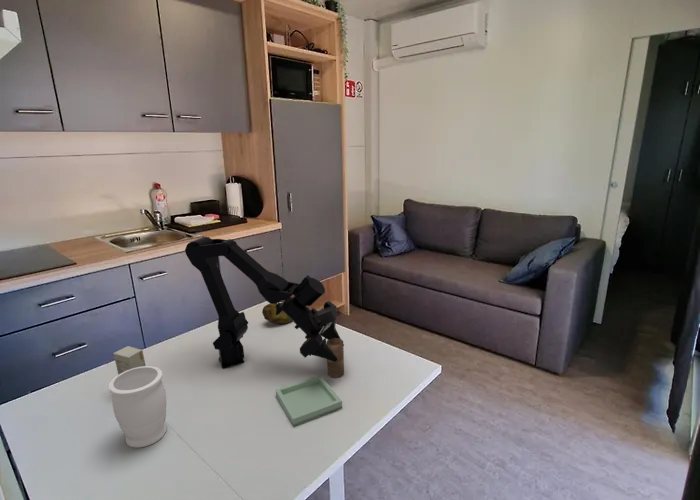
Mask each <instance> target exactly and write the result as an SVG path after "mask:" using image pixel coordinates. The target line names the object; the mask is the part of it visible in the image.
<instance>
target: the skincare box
mask: <svg viewBox="0 0 700 500" xmlns="http://www.w3.org/2000/svg"><path fill="white" fill-rule="evenodd" d="M113 357H114V362H115V366H116V371H117V375H119V374H121V373H123V372H125V371H127V370H130V369H133V368H136V367H142V366H147V365H146V362H145V356H144V350H143V349H140V348H137V347H134V346H130V345H127V346H125V347H123V348H121V349H119V350H117V351H115V352H113Z"/></svg>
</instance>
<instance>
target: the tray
mask: <svg viewBox="0 0 700 500" xmlns="http://www.w3.org/2000/svg"><path fill="white" fill-rule="evenodd" d="M275 397H276V399H277V401H278V402H279V404H280V406H281V407H282V409H283V411H284V413H285V414H286V417H287V418H288V420H289V421H290V423H291V425H292V426H293V427H296V426H298V425H301V424H304V423H306V422H310V421H312V420H315V419H317V418H320V417H323V416H326V415H328V414H331V413H334V412H336V411H338V410H341V409H343V400H342V399H341V398H340V397H339V395H337V393H336V392H335V391H334V390H333V388H332V387H331V386H330V385H329V384H328V382H327V381H326V380H325V379H324V377H323V376H322V375H321V374H320V375H317V376H313V377H310V378H307V379H304V380H301V381H298V382H294V383H292V384H288V385H286V386H282V387H279V388H276V389H275Z"/></svg>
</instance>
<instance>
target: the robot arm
mask: <svg viewBox="0 0 700 500" xmlns="http://www.w3.org/2000/svg"><path fill="white" fill-rule="evenodd" d="M184 252H185V255H186V257H187V258H188V261H189V262H190V264H191V265H192V266H193V267H195V268H196V269H197V270H198V271H199V272H200V274H201V277H202V278H203V281H204V284H205V286H206V289H207V291H208V293H209V296H210V298H211V302H212V303H213V306H214V308H215V310H216V313H217V317H218V320H217V329H218V334H219V336H218V337H217V338H216V339H215V340H214V341H213V342H212V346H213V347H214V350H217V351H218V353H219V354H218V355H219V357H218V361H219V363H220V365H221V368H222V369H228V368H231V367H234V366H238V365H241V364H244V363H245V360H244V359H245V352H244V351H245V350H244V345H243V343H242V342H241V339H243V338H244V335H245V334H246V333H247V331H248V329H249V326H248V324H249V321H248V320H247V318H246V315H245V312H244V311H241V312H239V311H238V310H236V308H235V307H234V304H233V302H232V299H231V297H230V294H229V292H228V289H227V286H226V283H225V281H224V279H223V276H222V274H221V271H220V270H219V267H218V259H219V258H218V257H224V258H225V259H227V260H228V261H229V262H230V263H231V264H232V265H233V266H235V267H236V268H237V270H239V271H240V272H241V273H243V275H245V276H246V277H247V278H248V279H250V280H251V281H252V282H253V283H254V285H255V286H256V287H257V290H258V292H259V295H261V297H263V299H264V300H265V301H266V302H267V303H268V304H270V303H271V304H277V305H276V315H278V314H280V313H281V312H282V311H283V312H284V313H285V314H286V315H287V316H288V317H289V318H290V319H291V321H292V322H293V323H294V324H295V325H294V329H295V330H298V329H300V330H301V331H302V332H303V333H304V334H305V336H304V339H306V340H305V341H304V342H303V343H302V345H301V346H300V347H299V354H300V355H301V356H303V357H304V358H307V357H308V356H309V357H311V356H315V357H319V358H321V359H322V358H323V359H325V360H327V359H328V360H331V361H334V362H336V361H337V360H338V358H337V357H336V356H335V354H334V353H333V352H332V351H331V350H330V348H329V347H328V346H327V344H326V342H327V341H328V340H329V339H332V338H339V339H341V340H342V338H341V337H340V335H339V332H338V331H337V329H336V322H337V317H338V316H339V314H338V312H337V308H338V306H336V305H335V304H334V303H332V302H331V301H330V300H328V301H326V302H324V304H323V307H321V309H319V310H317V309H316V308H314V307H312V308H311V309H310V306H312V305H313V304H314V303H316V301H317V300H318V299H320V298H321V297H322V296H323V295H324V294H325V293H326V288H325V286H324V285H323V283H322V282H321V281H320V280H318V279H317V278H314V277H311V276H310V275H306V276H305V277H304V278H303V279H302V280H301V282H300V283H298V282H297V283H296V282H292V281H287V280H286V279H285V278H283V277H282V276H280V275H278V273H275V272H271V271H269V270H267V269H266V268H265V267H263V266H262V265H261V264H260V263H259V262H258V261H256V259H254V257H251V255H249V253H248V252H246V251H245V250H244V249H243V248H241V246H239V245H238V243H237V242H236V240H234V239H231V238H230V239H224V238H210V237H209V236H202V237H200V238H197V239H195V240H192V241H190V242H188V243H187V244H186V247H185V248H184ZM292 296H293V297H292ZM344 346H345V343H343V347H344Z"/></svg>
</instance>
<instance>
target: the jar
mask: <svg viewBox="0 0 700 500" xmlns="http://www.w3.org/2000/svg"><path fill="white" fill-rule="evenodd" d="M162 379H163V372H162V369H160V368H159V367H158V366H152V365H146V366H142V367H136V368H133V369H130V370H127V371H125V372H123V373H121V374H119V375H118V374H117V375H116V376H115V377H114V378H112V379H111V380H110V382H109V384H108V388H109V393H111V394H112V398H111V399H112V409H113V410H112V411H113V413H114V417H115V419H116V421H117V423H118V425H119V427H120V428H119V429H121V432H122V434H124V435H125V436H126V437H125V442H126V444H127V445H128V446H129V447H131V448H144V447H148V446H151V445H153V444H155V443H157V442H158V441H159V440H160V439H162V437H164V435H165V434H166V431H167V424H166V418H167V392H166V388H165V385H164V383H163V381H162Z"/></svg>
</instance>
